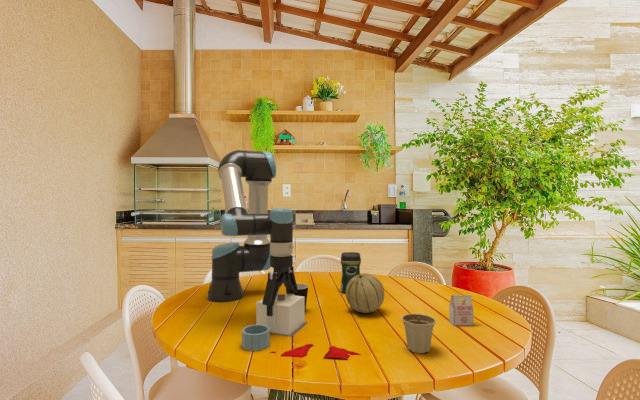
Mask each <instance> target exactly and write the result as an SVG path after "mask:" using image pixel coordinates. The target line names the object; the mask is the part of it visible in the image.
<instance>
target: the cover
mask: <svg viewBox="0 0 640 400" xmlns="http://www.w3.org/2000/svg"><path fill="white" fill-rule="evenodd" d="M262 302H263V298H262V299H260V300H258V301H256V303H255V305H256V307H255V309H256V310H255V311H256V312H255V313H256V314H255V316H256V319H255V320H256V321H255V322H256V323H255V325H258V324H261V325H266V326H267V306H266V305H263V304H262ZM274 305H276V311H275V326H268V327H270V332H271V333H277V334H283V335H290V334H292V333H293V332H294V331H295V330H296V329H298V328H299V327H300V326H301V325H302V324H304V323H305V321H306V320H305V319H306V317H305V316H306V315H305V314H306V311H305V296H296V295H287V294H286V293H278V294H277V297H276V300H275V303H274ZM271 333H270V334H271ZM277 334H276V335H277ZM283 335H282V336H283Z"/></svg>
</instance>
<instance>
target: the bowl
mask: <svg viewBox="0 0 640 400" xmlns="http://www.w3.org/2000/svg"><path fill="white" fill-rule="evenodd" d="M270 338H271V333H270V327H268V326H266V325H261V324H258V325H256V324H250V325H247V326H245V327H243V328H242V329H241V348H242V349H243V350H244V351H251V352H258V351H259V352H260V351H262V350H266V349H267V348H269V347H270V346H271V345H270V344H271V339H270Z"/></svg>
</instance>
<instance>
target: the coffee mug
mask: <svg viewBox="0 0 640 400" xmlns="http://www.w3.org/2000/svg"><path fill="white" fill-rule="evenodd" d="M296 284H297V290H296V291H297V294H294V295H296V296H305V312H306V310H307V302H308V293H309V284H305V283H296ZM293 287H294V286H293ZM287 293H288V292H287V290H286V289H285V294H287Z"/></svg>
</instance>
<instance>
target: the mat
mask: <svg viewBox="0 0 640 400" xmlns="http://www.w3.org/2000/svg"><path fill="white" fill-rule="evenodd" d="M307 324H308V322H307V321H306V322H305V323H304V324H302V325H301V326H300V327H299V328H298V329H296V330H295V331H294V332H293V333H292V334H290V335H283V334H277V333H271V332H270V335H271V334H272V335H278V336H282V337H283V336H284V337H290V338H292V337H294V335H295V334H297V333H299V331H300V330H301V329H303V328H304V327H305V326H306V325H307Z"/></svg>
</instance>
